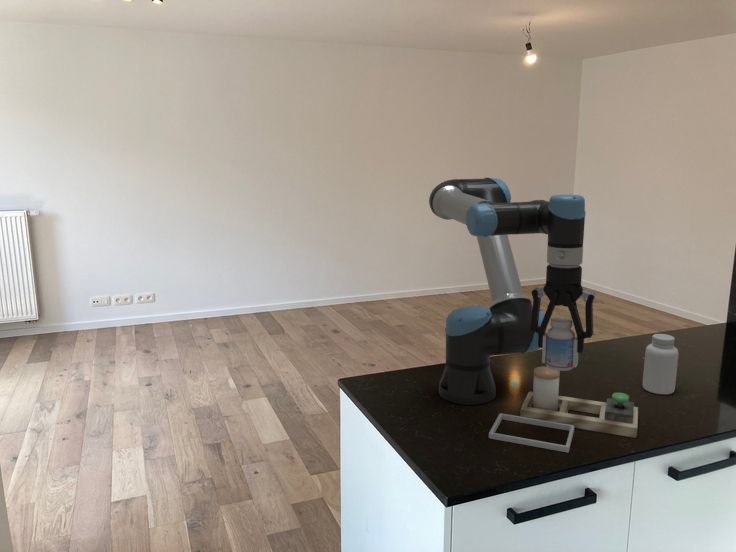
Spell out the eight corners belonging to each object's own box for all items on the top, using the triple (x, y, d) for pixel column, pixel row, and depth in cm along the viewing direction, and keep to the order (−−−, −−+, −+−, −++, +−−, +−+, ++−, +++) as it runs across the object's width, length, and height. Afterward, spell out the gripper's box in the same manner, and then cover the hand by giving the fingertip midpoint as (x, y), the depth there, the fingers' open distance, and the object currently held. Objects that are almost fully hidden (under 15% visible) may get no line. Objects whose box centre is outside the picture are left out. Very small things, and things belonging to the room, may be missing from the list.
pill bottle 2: (677, 396, 155) (682, 342, 152) (643, 393, 158) (648, 339, 155) (672, 385, 162) (677, 333, 159) (640, 382, 165) (644, 330, 162)
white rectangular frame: (488, 438, 135) (488, 433, 135) (499, 417, 145) (499, 413, 145) (568, 452, 128) (568, 447, 128) (574, 430, 138) (574, 425, 138)
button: (611, 408, 139) (612, 397, 138) (612, 402, 142) (612, 391, 142) (627, 410, 137) (628, 399, 137) (628, 404, 141) (629, 393, 140)
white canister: (530, 415, 146) (531, 373, 144) (534, 405, 152) (536, 365, 149) (555, 419, 144) (558, 376, 141) (559, 409, 149) (561, 368, 147)
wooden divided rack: (520, 418, 144) (520, 401, 143) (528, 399, 155) (529, 384, 154) (636, 438, 134) (638, 420, 133) (637, 416, 144) (638, 399, 143)
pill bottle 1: (574, 372, 133) (576, 324, 131) (546, 370, 134) (547, 323, 132) (572, 363, 139) (574, 317, 136) (545, 361, 140) (547, 316, 138)
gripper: (517, 264, 133) (514, 362, 138) (608, 270, 124) (601, 375, 129) (525, 259, 139) (522, 352, 144) (612, 264, 130) (605, 364, 135)
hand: (559, 363), depth 136 cm, fingers closed on pill bottle 1, 6 cm apart
